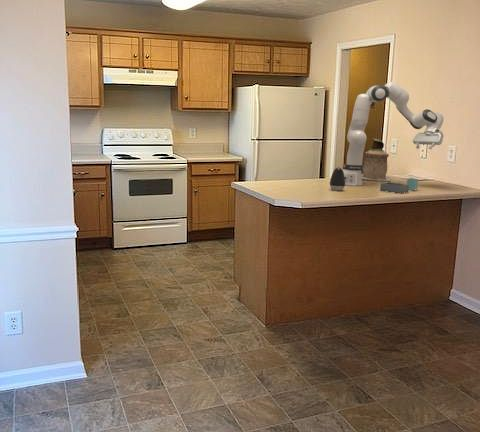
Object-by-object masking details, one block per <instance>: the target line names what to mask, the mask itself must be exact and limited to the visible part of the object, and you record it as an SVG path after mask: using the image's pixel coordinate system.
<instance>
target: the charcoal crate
mask: <svg viewBox="0 0 480 432" xmlns="http://www.w3.org/2000/svg"><path fill="white" fill-rule="evenodd" d="M379 191H380V192H385V191H388V192H387V193H391V192H395V193H394V194H397V193H402V194H405V193H404V192H408V193H409V185H407V183H406V184H405V183H398V182H391V181H389V182H381V183H380V188H379Z"/></svg>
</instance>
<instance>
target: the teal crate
mask: <svg viewBox="0 0 480 432" xmlns="http://www.w3.org/2000/svg"><path fill="white" fill-rule="evenodd" d="M418 181H419V179H418V178H414V177H410V178H409V177H408V178H407V180H406V185H409V190H415V189H417V190H418Z"/></svg>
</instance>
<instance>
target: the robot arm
mask: <svg viewBox="0 0 480 432" xmlns="http://www.w3.org/2000/svg"><path fill="white" fill-rule="evenodd" d="M386 99H389V100H390V101H391V102H393V103H392V104H394V105H395V107H396V109H397V111H398V112H399V113H400V114H401V115H402V116H403V117H404V118H405V119H406V120H407V122H409V124H410V126H412V128H413V129H415V130H420V129H422V128H424V127H425V126H426V128H425V130H424V132H418V133H416V134H415V136H414V137H413V139H412V143H413V144H414V145H416V146H415V148H416V149H417V150H419V148H420V145H425V146H426V145H428V146H429V147H428V149H429V150H433V148H434V147H435V146H441V145H442V143H443V140H444V133H443V131H442V129H441V128H442V125H443V123H444V116H443V114H442V113H440V112H434V111H432V110H430V109H424V110H423V111H421V112H419V113H417V114H415V113H413V112H412V110H411V109H410V108H409V107H408V106H407V105H408V102H409V100H410V94H409V92H408V91H407V90H406V89H404V88H403V87H401V85H399V84H397V83H396V82H394V81H389V82H386V83H385V84H384V85H373V86H370V87H368V88H367V90H366V91H365V93H360V94H358V95H357V97H356V99H355V102H354V104H353V106H354V107H353V110H352V116H351V121H350V124H349V127H348V132H347V136H346V139H347V141H348V143H349V144H348V145H349V146H348V151H347V155H346V163H345V164H342V165H341V166H342V170H343V172H344V176H345V186H352V187H356V186H363V179H362V174H363V167H364V164H363V161H364V153H365V149H366V148H365V147H366V143H367V135H366V132H365V130H366V126H367V125H368V121H369V116H370V110H371V105H372V104H373V103H378V102H383V101H384V100H386Z"/></svg>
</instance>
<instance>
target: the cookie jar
mask: <svg viewBox="0 0 480 432" xmlns="http://www.w3.org/2000/svg"><path fill="white" fill-rule="evenodd" d="M372 140H373V141H372V143H371V148H370V149H369V150H368V151H364V153H365V155H363V169H362V180H365V181H366V180H368V181H377V182H378V181H380V182H385V181H389V182H391V181H392V179H391V178H390V177H389V176H388V175H387V172H388V158H389V156H390V155H389V153H387V151H385V150H384V147H385V143H384V142H383V141H382V140H381V139H379V138H377V139H376V138H375V137H373V138H372ZM389 178H390V179H389Z"/></svg>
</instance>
